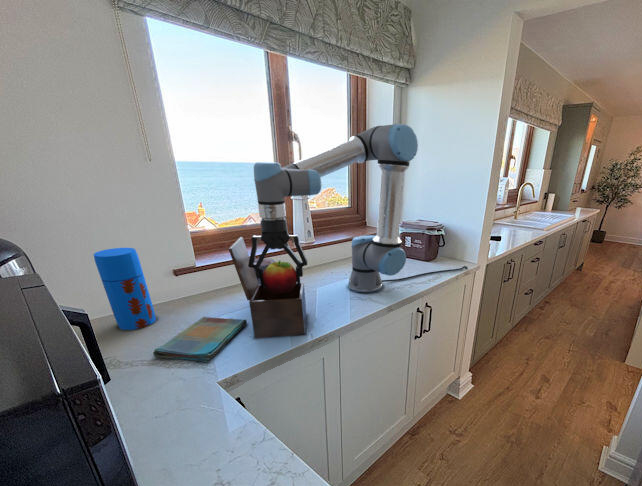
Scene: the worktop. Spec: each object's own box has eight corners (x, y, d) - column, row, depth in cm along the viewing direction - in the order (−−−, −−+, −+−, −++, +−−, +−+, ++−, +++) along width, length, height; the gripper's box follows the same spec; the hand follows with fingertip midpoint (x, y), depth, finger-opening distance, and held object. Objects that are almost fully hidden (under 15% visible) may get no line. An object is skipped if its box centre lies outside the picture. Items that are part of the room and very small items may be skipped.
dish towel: (151, 358, 92) (149, 350, 91) (201, 320, 113) (200, 314, 112) (209, 362, 91) (207, 355, 90) (248, 323, 112) (247, 317, 111)
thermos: (117, 321, 112) (92, 250, 102) (154, 312, 118) (134, 245, 108) (119, 333, 104) (93, 258, 94) (158, 324, 111) (137, 253, 100)
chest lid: (242, 236, 104) (239, 237, 104) (231, 248, 91) (228, 248, 91) (258, 283, 111) (256, 283, 111) (250, 300, 98) (247, 300, 98)
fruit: (284, 282, 113) (280, 254, 109) (305, 289, 108) (303, 260, 104) (257, 291, 105) (253, 262, 101) (279, 299, 100) (275, 269, 96)
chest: (306, 315, 119) (303, 282, 114) (304, 334, 106) (301, 299, 101) (262, 317, 117) (257, 284, 112) (254, 338, 104) (249, 301, 98)
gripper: (229, 220, 92) (241, 292, 101) (312, 219, 95) (317, 289, 104) (235, 216, 98) (246, 284, 107) (312, 215, 102) (317, 280, 111)
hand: (281, 286), depth 106 cm, fingers closed on fruit, 10 cm apart
